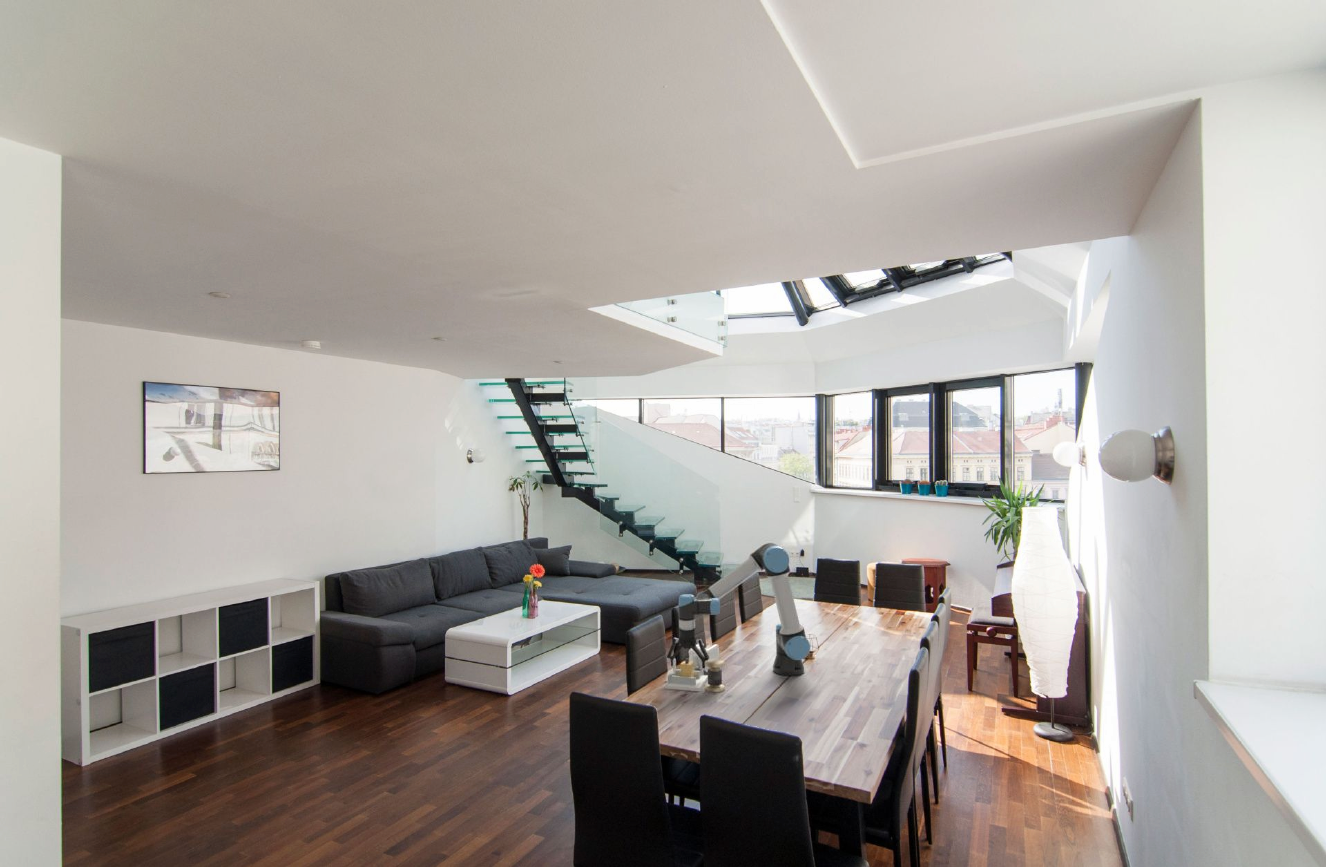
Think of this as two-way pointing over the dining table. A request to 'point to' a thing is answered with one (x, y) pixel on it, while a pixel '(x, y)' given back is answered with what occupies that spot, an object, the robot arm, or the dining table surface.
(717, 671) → the bobbin
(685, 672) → the yellow bottle
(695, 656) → the cable organizer
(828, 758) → the dining table surface
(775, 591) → the robot arm
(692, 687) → the grey square tray
